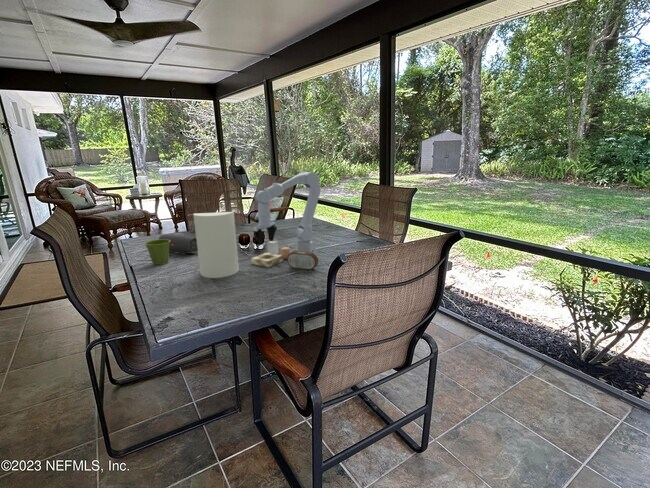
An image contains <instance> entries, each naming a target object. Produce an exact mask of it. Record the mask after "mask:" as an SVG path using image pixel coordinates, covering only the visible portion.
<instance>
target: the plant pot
mask: <svg viewBox="0 0 650 488" xmlns="http://www.w3.org/2000/svg"><path fill="white" fill-rule="evenodd" d="M169 243H170V240H168V239H159V238H158V239H153V240H148V241H146V242H144V245H145V247H146V249H147V250H148V254H149V257H150V260H151V262H152V265H154V264H156V265H158V264H162V265H164V264H163V263H166V264H167V263H169V255H170V253H169V251H170V250H169Z"/></svg>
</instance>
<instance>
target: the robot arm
mask: <svg viewBox="0 0 650 488" xmlns="http://www.w3.org/2000/svg"><path fill="white" fill-rule="evenodd" d="M298 184H300V185H304V186H305V187H306V188H307V190H308V191H309V192H308V197H307V200H306V204H305V207H304V211H303V214H302V218H301V219H302V220H301V221H300V222H299V223H298V225H297V228H296V229H295V231H294V233H295V236H296V237H297V239H296V245H297V246H296V248H297V249H296V251H303V252H312V253H314V254H315V255H316V256H317V257H318V255H317V245H316V242H315V241H312V238H313V229H314V228H313V225H312V223H313V219H314V215H315V212H316V210H317V205H318V202H319V199H320V198H319V197H320V194H321V185H320V178H319V176H318V174H317V173H315V172H312V171H311V172H310V171H303V172H302V173H301V172H300V173H298V174H296V175H294V176H292V177H291V178H289V179H287V180H286V181H284V182H282V183H280V182H279V183H278V182H277V183H276V182H273V183H272V185H271V186H269V187H264V188H263V189H264V190H259V191H258V192H256V194H255V200H256V201H257V213H258V214H257V215H258V224H257V225H255V226H253V228H252V229H253V231H252V232H253V234H254V236H255V238H256V240H257V242H258V245H261V246H264V245H263V244H264V235H265V231H264V230H265V229H266V231H267V235H268V242H269V241H274V238H275V234H276V232H277V229H278V226H277V222H276V221H271V219H272V218H271V206H270V202H271V200H273V199H275V198H277V197H279V196H281V195H282V194H283V193H284V191H286V190H287V189H289V188H291V187H294V186H295V185H298Z"/></svg>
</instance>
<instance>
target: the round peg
mask: <svg viewBox="0 0 650 488" xmlns="http://www.w3.org/2000/svg"><path fill="white" fill-rule="evenodd" d="M290 253H291V247H288V246H286V247H285V246H284V247H280V255H283V260H287V257H288V255H289V254H290Z"/></svg>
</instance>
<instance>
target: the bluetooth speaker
mask: <svg viewBox="0 0 650 488" xmlns="http://www.w3.org/2000/svg"><path fill="white" fill-rule="evenodd" d="M159 239H168V240H170V243H169V251H170V252H171V251H172V253H173V252H178V253H177V254H180V253H187V254H190V253H191V254H193V253H196V252H197V253H198V248H197V240H196V236H195V237H194V236H189V235H183V234H182V235H180V234H162V235H160V236H159V238H158V240H159Z"/></svg>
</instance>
